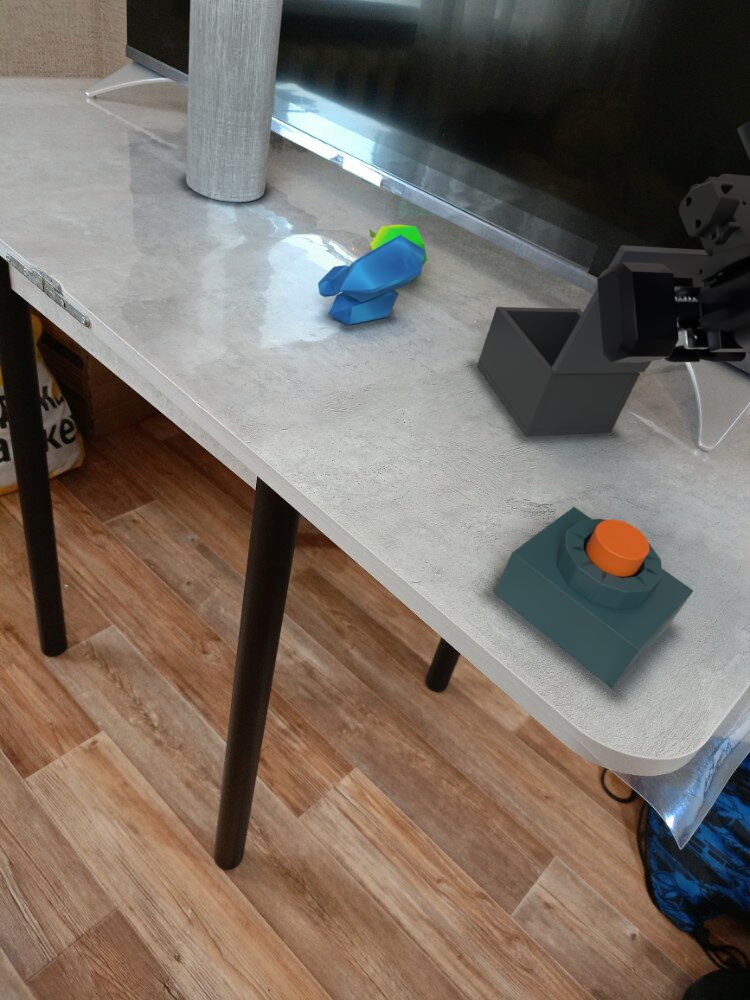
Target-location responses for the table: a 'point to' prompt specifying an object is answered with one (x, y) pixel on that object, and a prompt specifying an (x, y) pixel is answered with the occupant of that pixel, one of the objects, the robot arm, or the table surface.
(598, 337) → the lid
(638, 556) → the button
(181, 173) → the table surface
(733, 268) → the robot arm
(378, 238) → the apple
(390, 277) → the crystal
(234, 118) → the grey fabric cylinder
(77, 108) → the table surface
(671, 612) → the control block
